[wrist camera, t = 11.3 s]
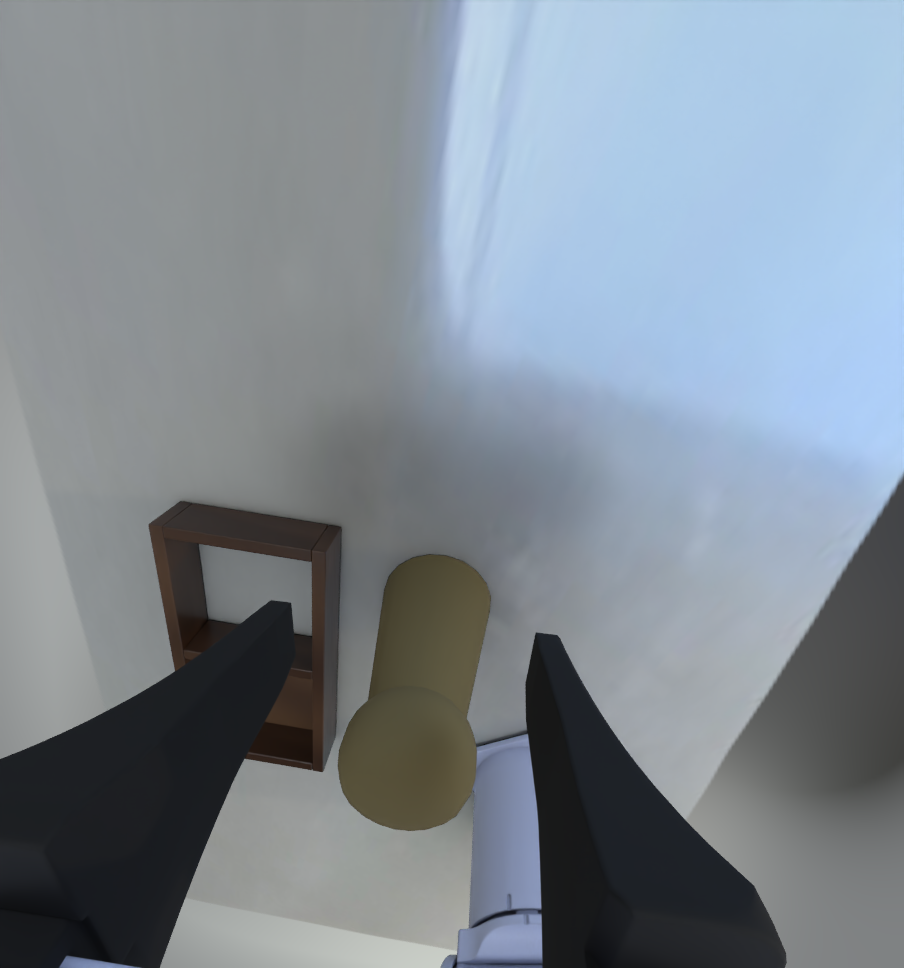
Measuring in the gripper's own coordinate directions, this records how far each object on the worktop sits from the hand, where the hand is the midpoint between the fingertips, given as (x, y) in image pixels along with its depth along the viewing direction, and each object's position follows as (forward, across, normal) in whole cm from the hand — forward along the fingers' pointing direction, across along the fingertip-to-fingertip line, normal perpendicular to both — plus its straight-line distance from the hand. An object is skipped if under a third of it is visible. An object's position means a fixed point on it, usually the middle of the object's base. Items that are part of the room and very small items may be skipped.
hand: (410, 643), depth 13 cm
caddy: (+10, +10, +11) cm, 18 cm away
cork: (+11, 0, +7) cm, 13 cm away
